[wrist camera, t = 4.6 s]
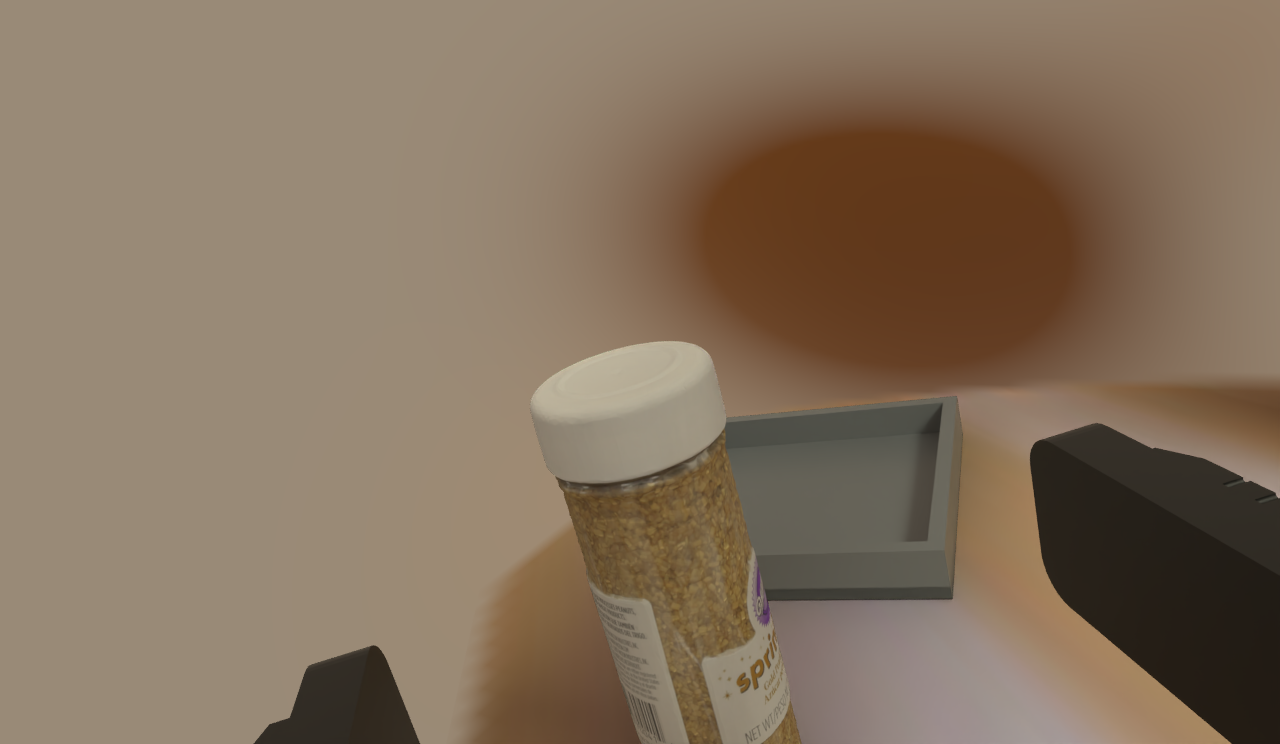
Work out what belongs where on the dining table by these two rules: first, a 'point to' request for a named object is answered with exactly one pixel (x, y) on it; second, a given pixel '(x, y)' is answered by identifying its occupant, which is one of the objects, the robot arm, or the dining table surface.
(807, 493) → the condiment tray
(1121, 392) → the dining table surface
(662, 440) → the sprinkles bottle
